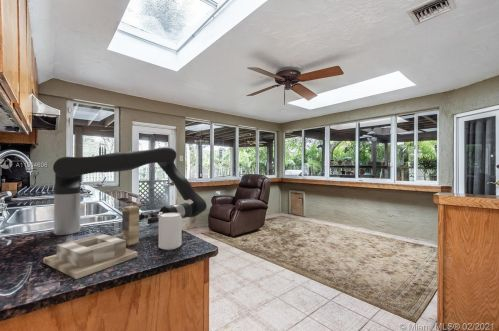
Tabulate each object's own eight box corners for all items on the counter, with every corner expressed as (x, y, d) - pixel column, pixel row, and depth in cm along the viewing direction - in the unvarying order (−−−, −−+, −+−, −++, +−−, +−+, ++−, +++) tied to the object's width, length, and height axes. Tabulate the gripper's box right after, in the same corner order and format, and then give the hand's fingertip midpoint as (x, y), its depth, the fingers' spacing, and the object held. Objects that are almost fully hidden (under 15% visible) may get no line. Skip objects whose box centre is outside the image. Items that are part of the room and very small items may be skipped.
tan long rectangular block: (121, 244, 91) (121, 207, 90) (132, 240, 95) (132, 205, 94) (127, 245, 89) (128, 208, 88) (138, 242, 93) (139, 206, 92)
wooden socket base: (43, 262, 73) (43, 244, 73) (103, 245, 89) (103, 230, 89) (76, 279, 63) (76, 258, 63) (137, 256, 79) (137, 239, 79)
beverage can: (186, 245, 90) (186, 213, 90) (169, 252, 83) (169, 218, 83) (170, 241, 94) (170, 211, 94) (153, 248, 87) (153, 215, 86)
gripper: (162, 203, 113) (130, 208, 99) (183, 206, 106) (153, 212, 92) (161, 219, 113) (130, 226, 99) (183, 223, 106) (153, 232, 92)
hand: (141, 220), depth 96 cm, fingers open, 8 cm apart
